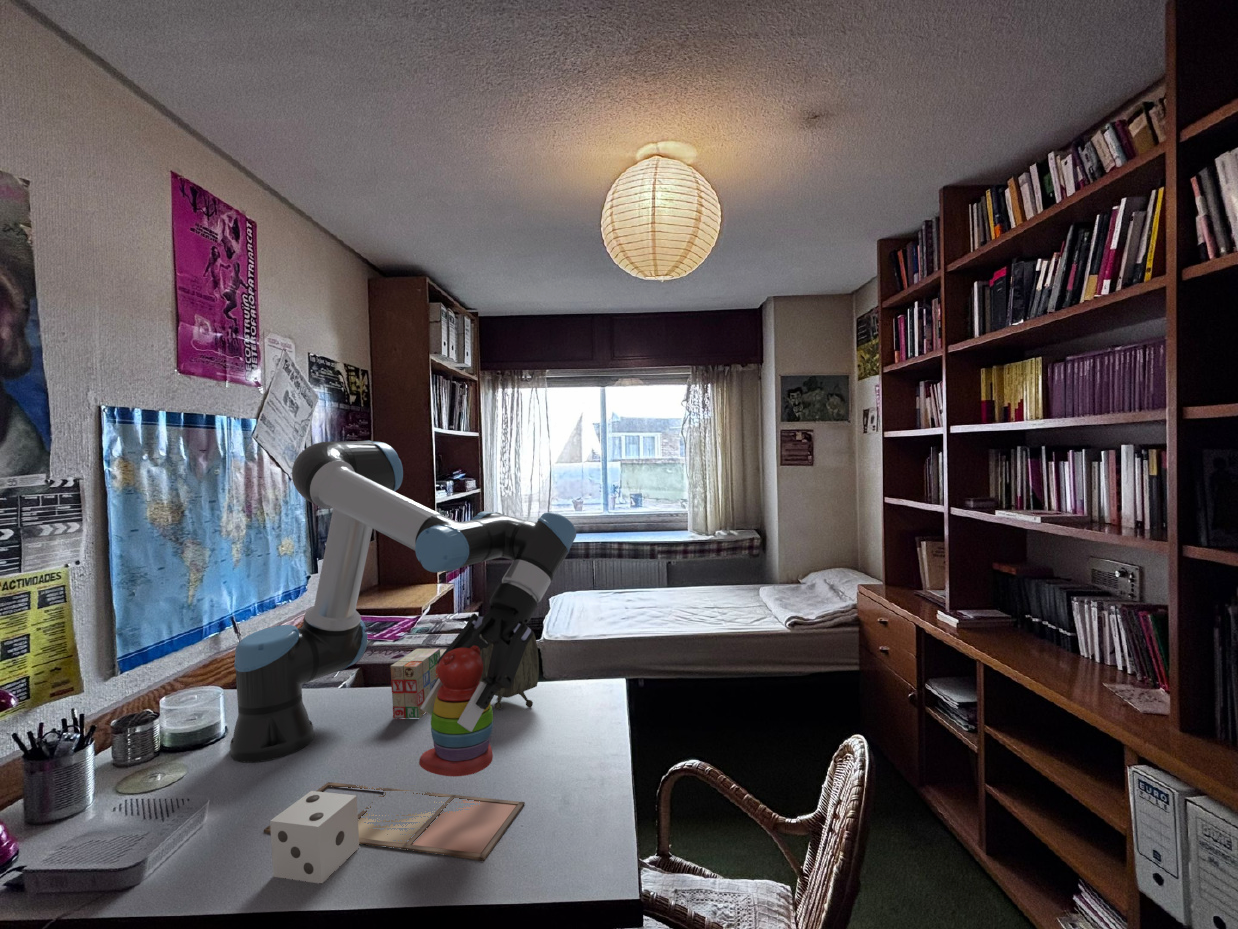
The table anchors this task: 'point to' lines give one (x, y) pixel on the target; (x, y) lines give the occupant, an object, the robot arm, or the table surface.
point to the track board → (442, 826)
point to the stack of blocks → (413, 681)
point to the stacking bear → (451, 740)
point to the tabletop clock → (524, 675)
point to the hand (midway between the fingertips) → (445, 719)
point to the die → (314, 836)
